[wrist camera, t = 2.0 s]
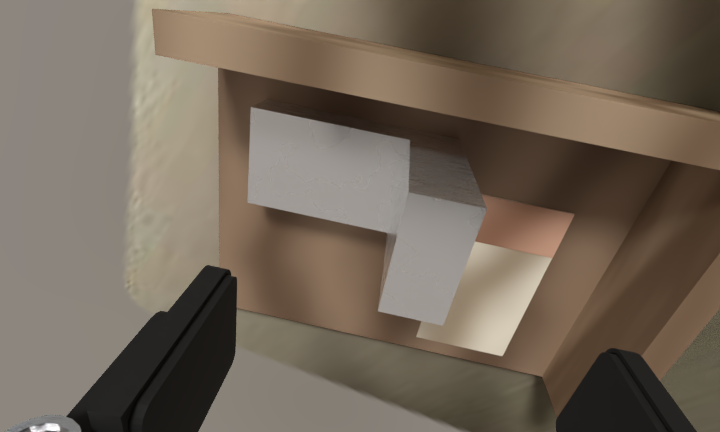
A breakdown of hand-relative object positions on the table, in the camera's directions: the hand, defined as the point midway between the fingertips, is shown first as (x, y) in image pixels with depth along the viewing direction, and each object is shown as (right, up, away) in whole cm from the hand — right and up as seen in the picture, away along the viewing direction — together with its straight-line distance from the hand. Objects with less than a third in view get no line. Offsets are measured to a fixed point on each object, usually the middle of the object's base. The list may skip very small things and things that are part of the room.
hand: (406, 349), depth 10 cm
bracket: (-2, +6, +10) cm, 12 cm away
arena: (+2, +3, +12) cm, 13 cm away
